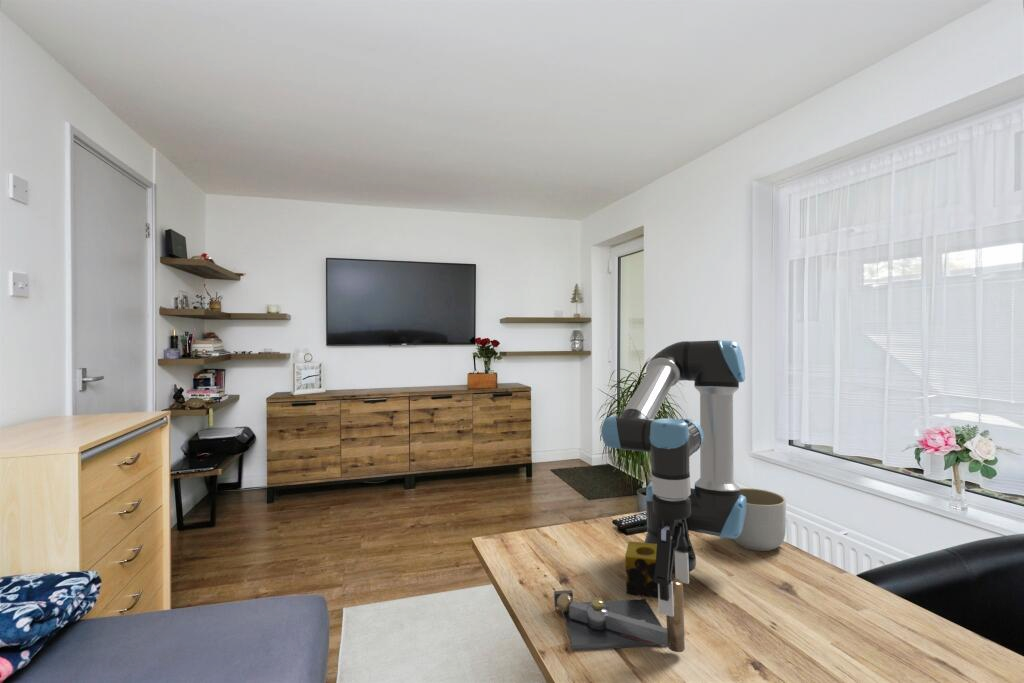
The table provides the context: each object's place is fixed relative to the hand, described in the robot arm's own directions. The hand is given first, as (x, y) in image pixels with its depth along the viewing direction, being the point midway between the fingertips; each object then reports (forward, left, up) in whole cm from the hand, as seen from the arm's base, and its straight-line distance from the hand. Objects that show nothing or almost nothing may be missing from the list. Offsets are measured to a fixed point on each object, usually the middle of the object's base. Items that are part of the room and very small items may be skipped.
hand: (674, 597), depth 98 cm
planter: (-45, -48, -12) cm, 67 cm away
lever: (+9, -6, -10) cm, 15 cm away
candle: (-3, -26, -12) cm, 29 cm away
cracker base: (+11, -10, -12) cm, 19 cm away
